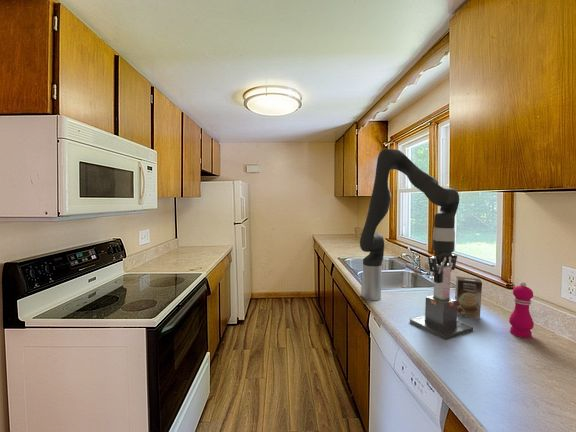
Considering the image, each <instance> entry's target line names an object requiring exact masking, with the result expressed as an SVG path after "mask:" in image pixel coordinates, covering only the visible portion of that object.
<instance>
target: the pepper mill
mask: <svg viewBox="0 0 576 432" xmlns="http://www.w3.org/2000/svg"><path fill="white" fill-rule="evenodd" d="M519 284H520V285H516V286H515V287H513V289H512V295H513V296H514V297H513V302H514V309H513V311H512V313H511V314H510V316H509V319H508V322H509V325H511V326H510V328H509V329H510V331H509V332H510V334H512V335H514V336H516V337H519V338H525V339H530V338H532V331H531V330H532V329H534V327H535V325H534V320H533V318H532V316H531V313H530V312H531V311H530V306H531V305H532V303H531V302H532V300H531V299H533V297H534V292H533V289H531V288H530V287H528V286H527V283H526V282H524V281H522V282H520V283H519Z"/></svg>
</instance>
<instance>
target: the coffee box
mask: <svg viewBox="0 0 576 432" xmlns="http://www.w3.org/2000/svg"><path fill="white" fill-rule="evenodd" d="M482 288H483V282H482V280H481V279H480V278H473V277H466V276H456V277H455V296H454V299H455V300H458V305H457V317H464V318H469V319H476V320H480V319H481V310H482V309H481V307H482V292H483V291H482V290H483V289H482Z"/></svg>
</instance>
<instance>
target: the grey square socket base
mask: <svg viewBox="0 0 576 432" xmlns="http://www.w3.org/2000/svg"><path fill="white" fill-rule="evenodd" d="M433 296H434V294H433V295H428V296H425V304H424V305H425V307H424V315H421V316H416V317H413V318H409V323H410V324H412V325H414V326H416V327H419V329H422V330H423V331H427V332H428V333H430V334H433V335H434V336H437V337H439V338H440V339H443V340H445V341H446V340H449V339H453V338H456V337H458V336H462V335H466V334H468V333H471V332H472V333H473V332H474V327H473V326H471V325H468V324H465V323H464V322H461V321H459V320H458V316H457V305H458V300H455V298H452V297H450V299H449V300H448V301H440V300H437V299H434V298H433Z"/></svg>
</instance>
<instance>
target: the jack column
mask: <svg viewBox="0 0 576 432" xmlns="http://www.w3.org/2000/svg"><path fill="white" fill-rule="evenodd" d="M437 265H438V264H437ZM439 266H440V265H439ZM437 270H438V267H437ZM450 273H452V271H451V265H444V266H443V268H442V269H441V273H440V274H441V279H440V283H436V282H434V281H433V295H434V296H433V298H434V299H437V300H440V301H448V300H449V299H450V298H451V274H450Z"/></svg>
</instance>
